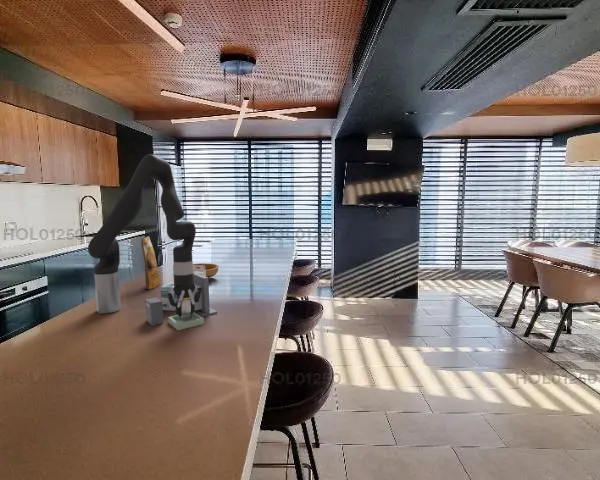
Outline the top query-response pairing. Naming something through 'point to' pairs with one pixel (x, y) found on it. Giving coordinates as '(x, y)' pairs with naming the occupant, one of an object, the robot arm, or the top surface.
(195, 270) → the ink cartridge box
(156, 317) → the grey block
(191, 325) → the parts tray
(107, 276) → the robot arm
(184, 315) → the cylinder
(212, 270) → the tan wooden bowl
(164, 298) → the light bulb box
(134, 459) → the top surface
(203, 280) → the wall unit
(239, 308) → the top surface
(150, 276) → the pancake mix bag
